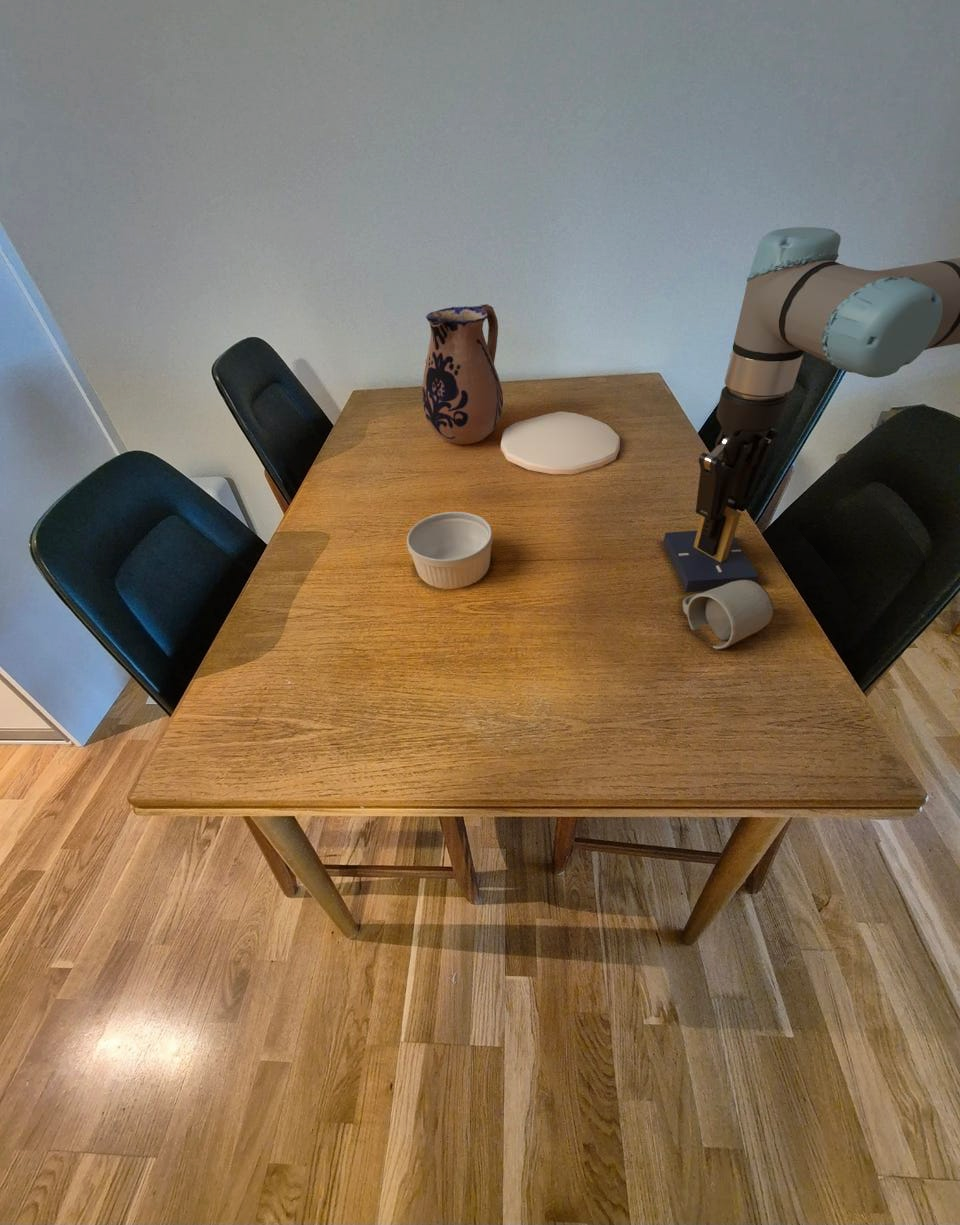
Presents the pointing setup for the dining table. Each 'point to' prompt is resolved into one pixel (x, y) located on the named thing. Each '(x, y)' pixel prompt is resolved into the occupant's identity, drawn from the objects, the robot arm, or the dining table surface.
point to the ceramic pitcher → (462, 374)
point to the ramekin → (451, 549)
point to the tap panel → (706, 563)
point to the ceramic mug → (730, 610)
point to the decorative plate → (560, 443)
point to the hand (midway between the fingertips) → (711, 548)
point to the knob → (726, 535)
